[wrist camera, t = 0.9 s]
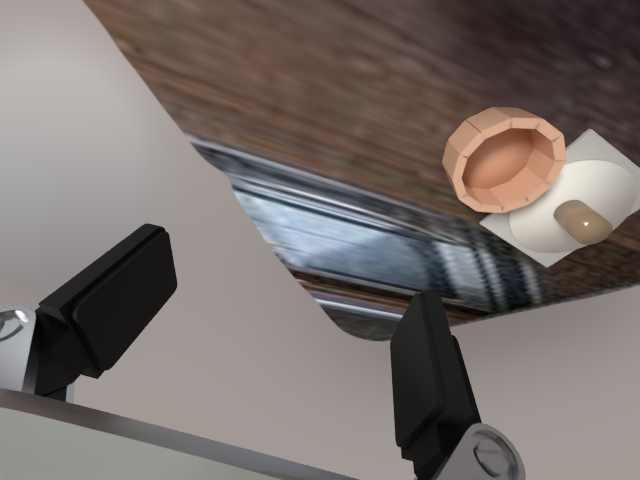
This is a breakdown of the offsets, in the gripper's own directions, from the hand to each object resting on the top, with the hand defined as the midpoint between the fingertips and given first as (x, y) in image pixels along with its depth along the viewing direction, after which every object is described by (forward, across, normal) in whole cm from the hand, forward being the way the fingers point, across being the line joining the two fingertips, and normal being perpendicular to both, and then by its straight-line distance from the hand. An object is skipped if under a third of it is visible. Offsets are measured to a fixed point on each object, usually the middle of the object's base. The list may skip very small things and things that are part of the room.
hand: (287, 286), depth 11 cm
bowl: (+32, -19, 0) cm, 37 cm away
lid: (+32, -32, +5) cm, 45 cm away
